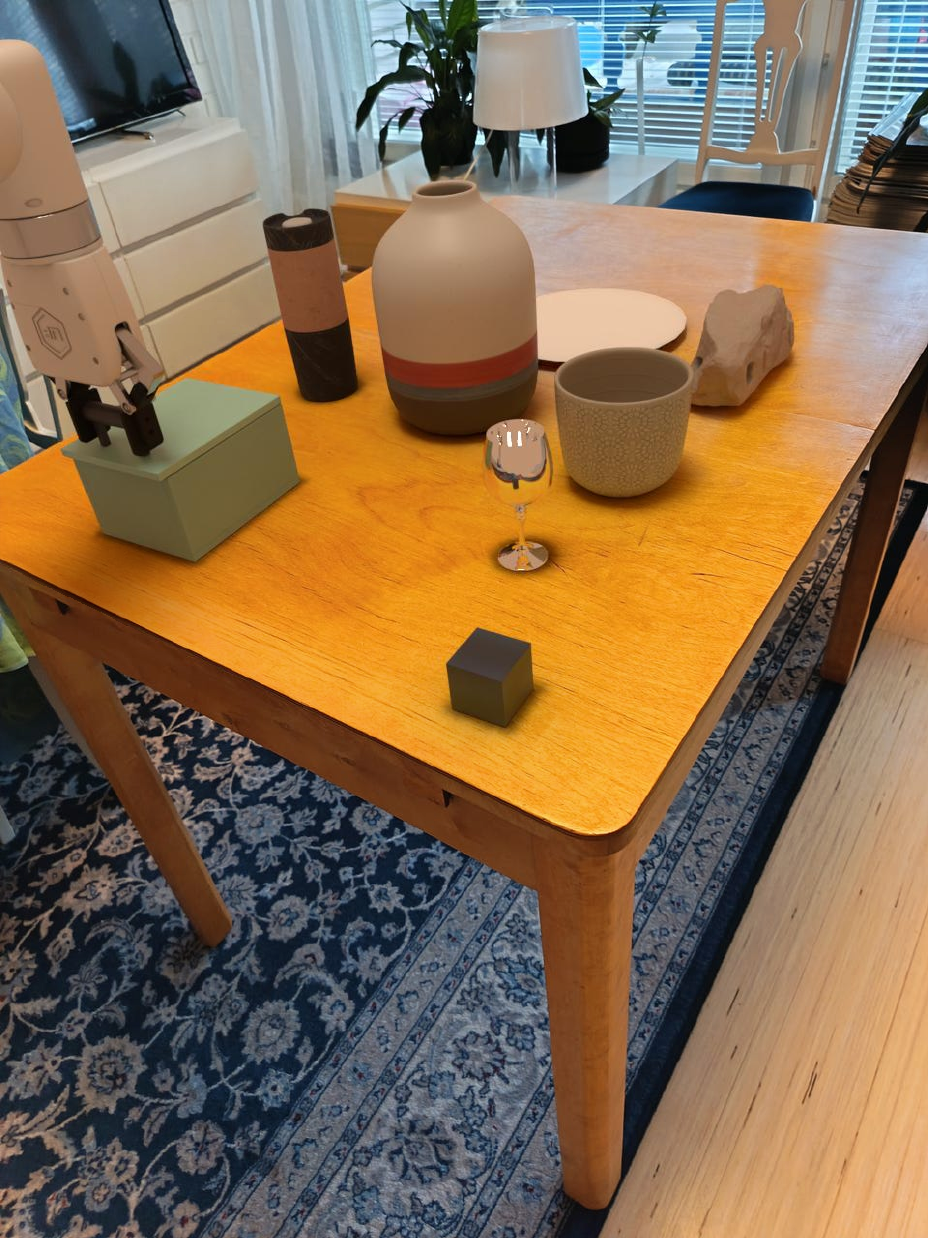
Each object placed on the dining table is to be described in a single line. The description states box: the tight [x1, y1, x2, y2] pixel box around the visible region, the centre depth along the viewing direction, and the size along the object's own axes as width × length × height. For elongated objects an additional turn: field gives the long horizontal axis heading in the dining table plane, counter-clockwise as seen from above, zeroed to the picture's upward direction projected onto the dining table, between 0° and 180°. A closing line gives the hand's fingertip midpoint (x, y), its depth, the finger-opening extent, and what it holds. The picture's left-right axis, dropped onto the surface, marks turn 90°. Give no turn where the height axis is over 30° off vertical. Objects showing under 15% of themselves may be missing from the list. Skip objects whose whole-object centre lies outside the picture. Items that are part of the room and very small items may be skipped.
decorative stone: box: [690, 284, 795, 407], centre depth 99 cm, size 20×8×10 cm, turn 145°
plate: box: [536, 287, 688, 365], centre depth 117 cm, size 25×25×2 cm
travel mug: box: [262, 207, 359, 403], centre depth 105 cm, size 8×8×20 cm
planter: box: [553, 347, 694, 498], centre depth 85 cm, size 12×12×11 cm
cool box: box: [72, 402, 301, 563], centre depth 89 cm, size 16×13×9 cm
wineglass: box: [481, 418, 554, 572], centre depth 76 cm, size 6×6×12 cm
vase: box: [370, 179, 539, 436], centre depth 96 cm, size 17×17×24 cm
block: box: [445, 626, 534, 728], centre depth 64 cm, size 4×4×4 cm
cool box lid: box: [60, 377, 282, 482], centre depth 84 cm, size 16×13×5 cm
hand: (122, 440), depth 81 cm, fingers closed on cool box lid, 6 cm apart
